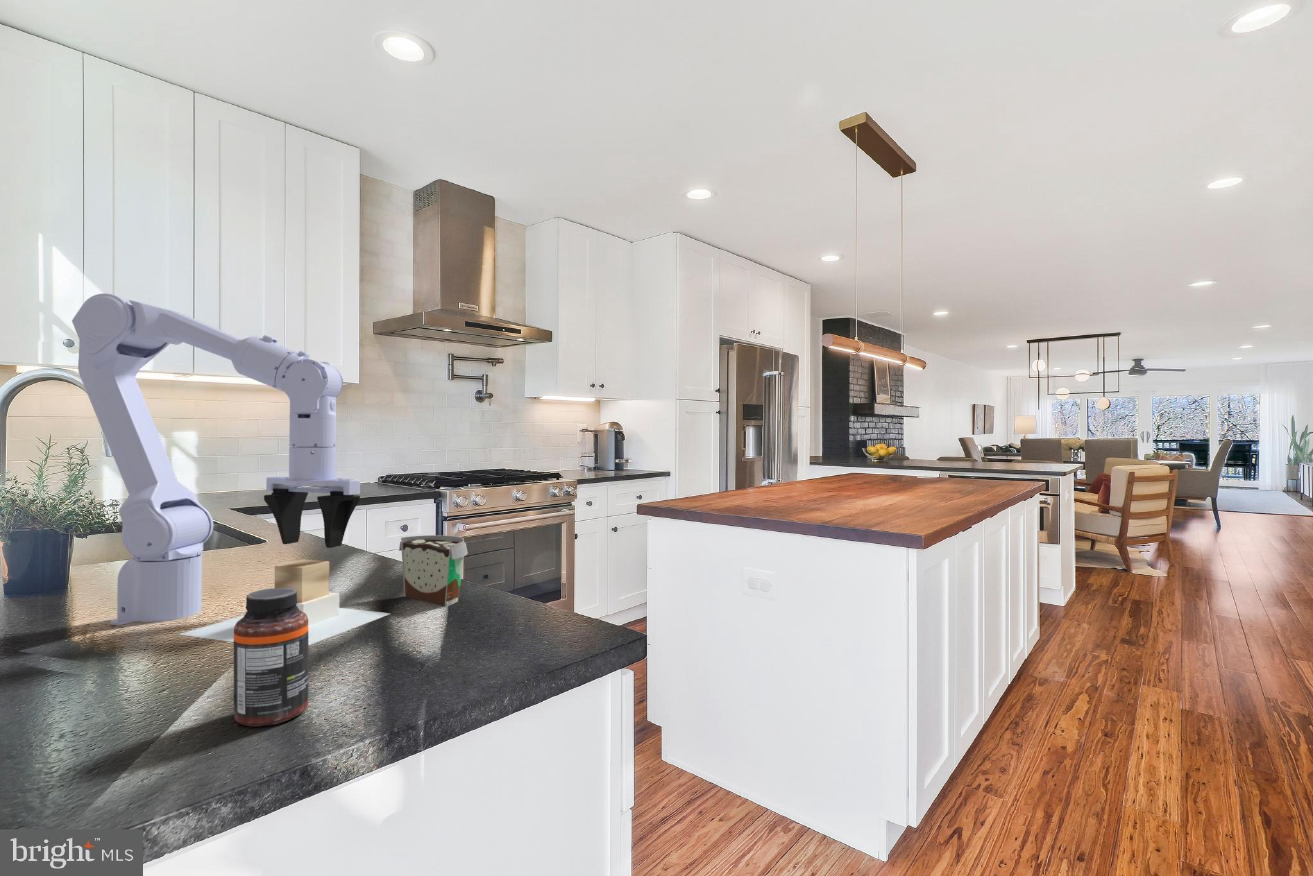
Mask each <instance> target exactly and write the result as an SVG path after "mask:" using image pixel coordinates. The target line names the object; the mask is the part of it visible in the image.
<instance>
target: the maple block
mask: <svg viewBox="0 0 1313 876" xmlns="http://www.w3.org/2000/svg"><path fill="white" fill-rule="evenodd" d="M274 588H292V589H295V590H296V591H297V602H299V603H303V602H306V601H310V600H313V599H316V598H320V597H323V596H326V595H329V592H330V561H328V560H327V561H326V560H316V559H303V558H302V559H299V560H298V559H297V560H294V561H289V562H285V563H282V564H281V563H279V564H275V565H274Z"/></svg>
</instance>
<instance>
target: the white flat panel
mask: <svg viewBox="0 0 1313 876" xmlns="http://www.w3.org/2000/svg"><path fill="white" fill-rule="evenodd" d="M391 614H392V613H389V612H381V611H373V610H372V611H371V610H364V609H355V608H354V609H353V608H345V607H339V615H338V616H336V617H333V618H330V619H327V620H324V621H321V622H318V623H315V624H313V625H310V626H308V636H309V638H308V641H309V643H308V646H310V645H314V644H316V643H318V642H321V641H324V640H326V639H330V638H331V637H335V636H336V635H337V636H338V635H339V634H342V633H344V632H347V631H350V630H352V629H354V628H357V627H360V626H363V625H366V624H368V623H370V622H373V621H377V620H378V619H381V618H384V617H385V616H386V617H387V616H389V615H391ZM244 615H245V614H244ZM244 615H243V614H242V615H241V616H237V617H233V618H230V619H227V620H224V621H220V622H216V623H213V624H210V625H207V626H203V627H200V628H196V629H193V630H189V631H185V632H182V633H179V634H178V635H179V636H186V637H192V638H198V639H199V638H200V639H207V640H212V641H213V640H214V641H221V642H228V643H234V627H235V625H236V623H237V622H238V621H239V620H240V619H241V618H243V617H244Z"/></svg>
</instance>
